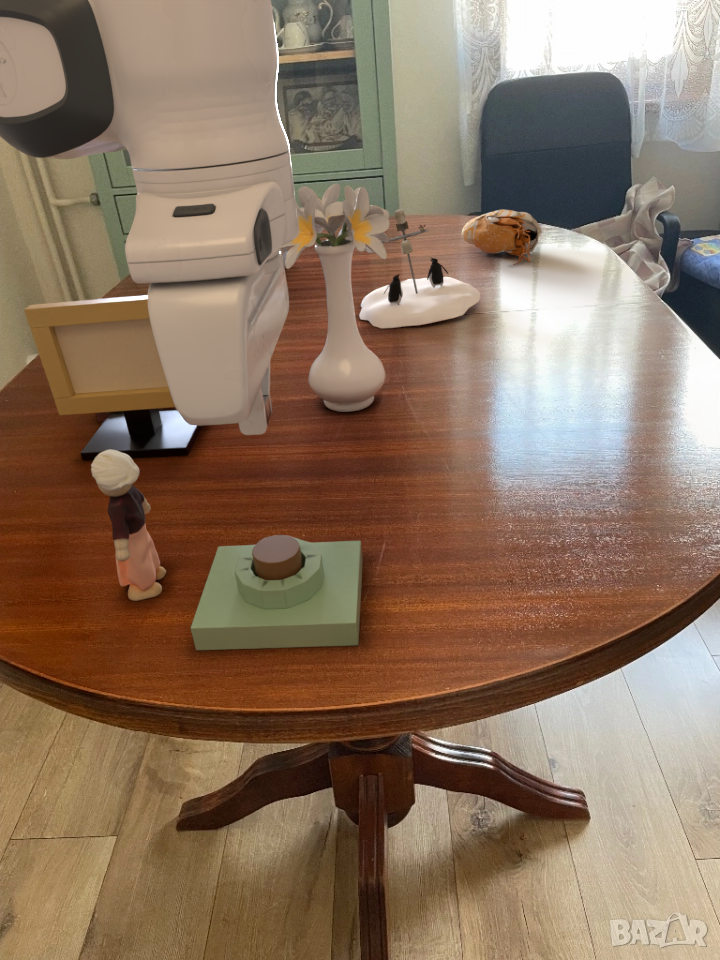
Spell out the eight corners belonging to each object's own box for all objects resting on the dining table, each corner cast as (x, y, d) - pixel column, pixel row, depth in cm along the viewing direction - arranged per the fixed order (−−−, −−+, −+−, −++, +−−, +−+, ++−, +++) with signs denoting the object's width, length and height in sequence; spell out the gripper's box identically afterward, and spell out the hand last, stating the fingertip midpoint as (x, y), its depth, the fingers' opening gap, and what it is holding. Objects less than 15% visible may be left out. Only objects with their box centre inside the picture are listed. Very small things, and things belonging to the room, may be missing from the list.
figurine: (452, 279, 127) (442, 182, 118) (500, 308, 112) (493, 200, 104) (344, 309, 124) (326, 211, 115) (379, 343, 109) (362, 234, 100)
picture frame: (59, 415, 80) (23, 309, 74) (64, 409, 81) (30, 304, 75) (201, 405, 79) (176, 296, 73) (204, 399, 80) (180, 292, 74)
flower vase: (404, 369, 97) (394, 167, 84) (393, 433, 81) (379, 196, 68) (308, 372, 98) (284, 174, 86) (279, 434, 83) (245, 204, 70)
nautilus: (559, 268, 134) (479, 280, 134) (528, 235, 152) (457, 246, 152) (561, 224, 130) (477, 236, 130) (529, 196, 147) (456, 207, 147)
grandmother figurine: (124, 564, 63) (85, 435, 57) (169, 556, 64) (135, 427, 57) (119, 622, 57) (75, 483, 50) (169, 611, 57) (131, 473, 51)
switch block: (195, 650, 53) (185, 609, 51) (222, 567, 62) (214, 528, 60) (358, 645, 53) (354, 603, 50) (362, 561, 61) (359, 522, 59)
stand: (82, 460, 81) (50, 359, 75) (111, 421, 89) (85, 327, 83) (187, 455, 80) (164, 352, 74) (207, 415, 89) (188, 320, 83)
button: (251, 582, 54) (248, 564, 53) (259, 553, 57) (256, 535, 56) (299, 580, 54) (296, 562, 53) (304, 552, 57) (302, 533, 56)
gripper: (206, 187, 51) (238, 370, 58) (111, 259, 34) (174, 508, 41) (294, 179, 51) (316, 364, 58) (244, 249, 33) (285, 502, 40)
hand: (257, 425), depth 49 cm, fingers closed
